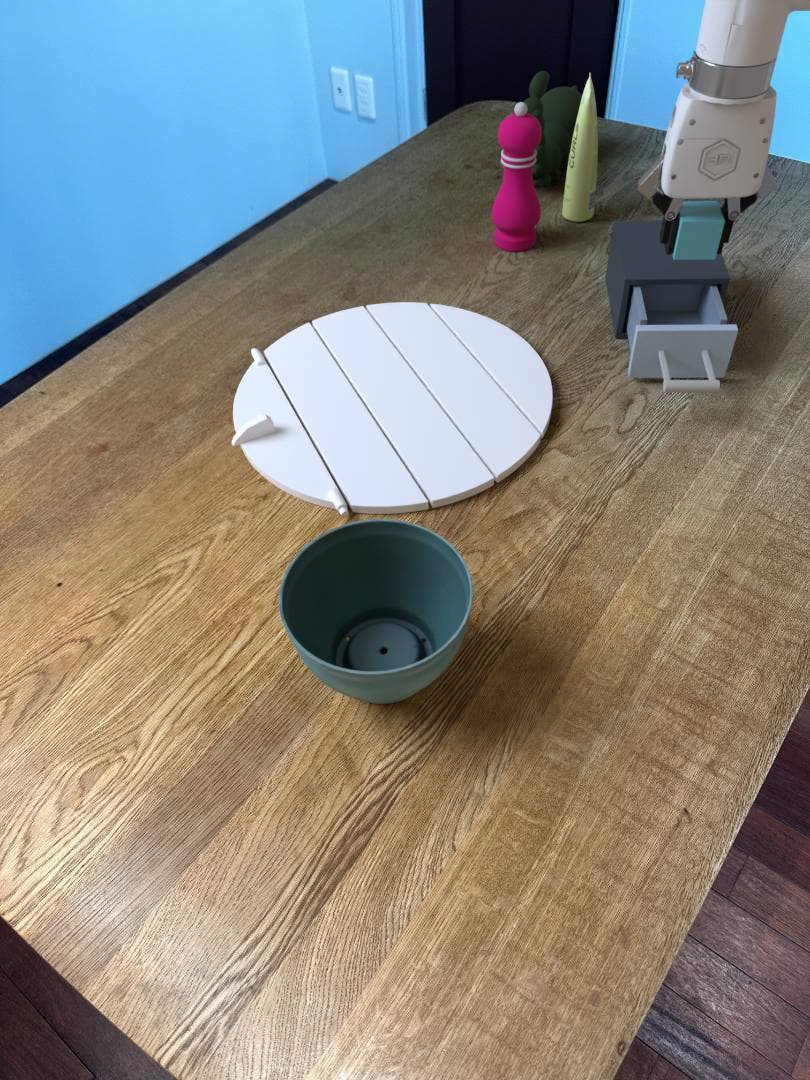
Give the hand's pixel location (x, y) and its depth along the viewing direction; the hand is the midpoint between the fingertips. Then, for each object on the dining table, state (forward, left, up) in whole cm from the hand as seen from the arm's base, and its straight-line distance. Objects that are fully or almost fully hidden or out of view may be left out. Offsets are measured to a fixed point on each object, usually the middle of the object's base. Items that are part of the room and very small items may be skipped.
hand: (691, 246), depth 93 cm
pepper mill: (+19, -29, -15) cm, 37 cm away
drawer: (0, +3, -14) cm, 14 cm away
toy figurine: (+13, -53, -15) cm, 56 cm away
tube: (+9, -37, -15) cm, 40 cm away
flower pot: (+32, +47, -15) cm, 59 cm away
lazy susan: (+35, +9, -15) cm, 39 cm away
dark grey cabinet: (0, -11, -15) cm, 18 cm away
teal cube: (0, 0, 0) cm, 0 cm away
